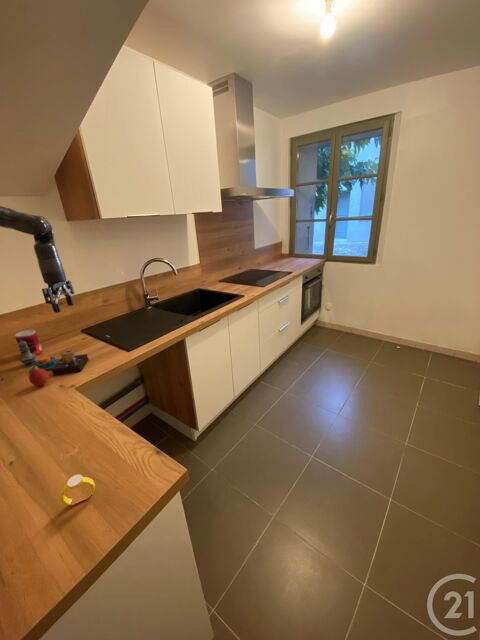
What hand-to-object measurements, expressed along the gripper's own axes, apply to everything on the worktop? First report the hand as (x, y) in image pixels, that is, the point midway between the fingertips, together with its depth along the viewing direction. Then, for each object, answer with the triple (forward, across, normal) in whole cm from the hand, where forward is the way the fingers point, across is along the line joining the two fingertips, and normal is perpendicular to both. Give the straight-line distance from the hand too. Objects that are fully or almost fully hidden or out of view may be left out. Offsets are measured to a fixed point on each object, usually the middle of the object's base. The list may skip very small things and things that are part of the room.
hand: (64, 308), depth 109 cm
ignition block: (+24, +6, -10) cm, 27 cm away
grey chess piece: (+24, +4, -20) cm, 31 cm away
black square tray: (+24, +8, +1) cm, 25 cm away
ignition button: (+21, +7, -10) cm, 24 cm away
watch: (+24, +64, +39) cm, 78 cm away
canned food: (+24, -6, -27) cm, 36 cm away
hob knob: (+20, +8, +1) cm, 22 cm away
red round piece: (+24, +20, -3) cm, 31 cm away
